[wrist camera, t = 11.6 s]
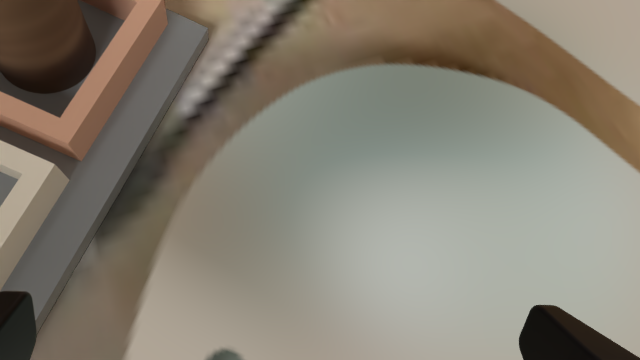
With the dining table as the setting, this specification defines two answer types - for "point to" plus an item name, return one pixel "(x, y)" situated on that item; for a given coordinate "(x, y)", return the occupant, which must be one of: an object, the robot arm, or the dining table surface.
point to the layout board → (84, 141)
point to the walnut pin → (44, 44)
